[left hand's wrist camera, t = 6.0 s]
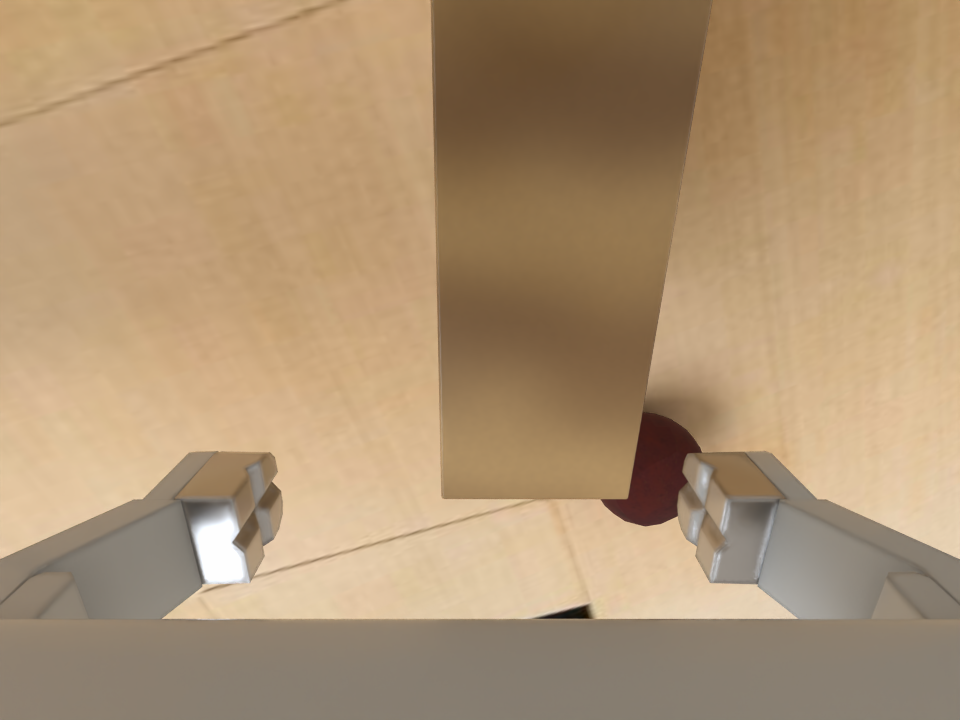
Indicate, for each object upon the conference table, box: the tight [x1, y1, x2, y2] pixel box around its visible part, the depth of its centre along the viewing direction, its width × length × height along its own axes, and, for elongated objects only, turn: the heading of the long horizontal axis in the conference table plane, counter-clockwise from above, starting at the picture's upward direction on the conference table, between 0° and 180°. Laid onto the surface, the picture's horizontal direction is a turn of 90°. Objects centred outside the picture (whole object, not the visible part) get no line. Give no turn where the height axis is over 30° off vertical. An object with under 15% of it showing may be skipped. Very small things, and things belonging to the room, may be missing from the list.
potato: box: [601, 412, 702, 526], centre depth 36 cm, size 7×8×7 cm
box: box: [431, 0, 712, 499], centre depth 17 cm, size 21×6×10 cm, turn 179°
